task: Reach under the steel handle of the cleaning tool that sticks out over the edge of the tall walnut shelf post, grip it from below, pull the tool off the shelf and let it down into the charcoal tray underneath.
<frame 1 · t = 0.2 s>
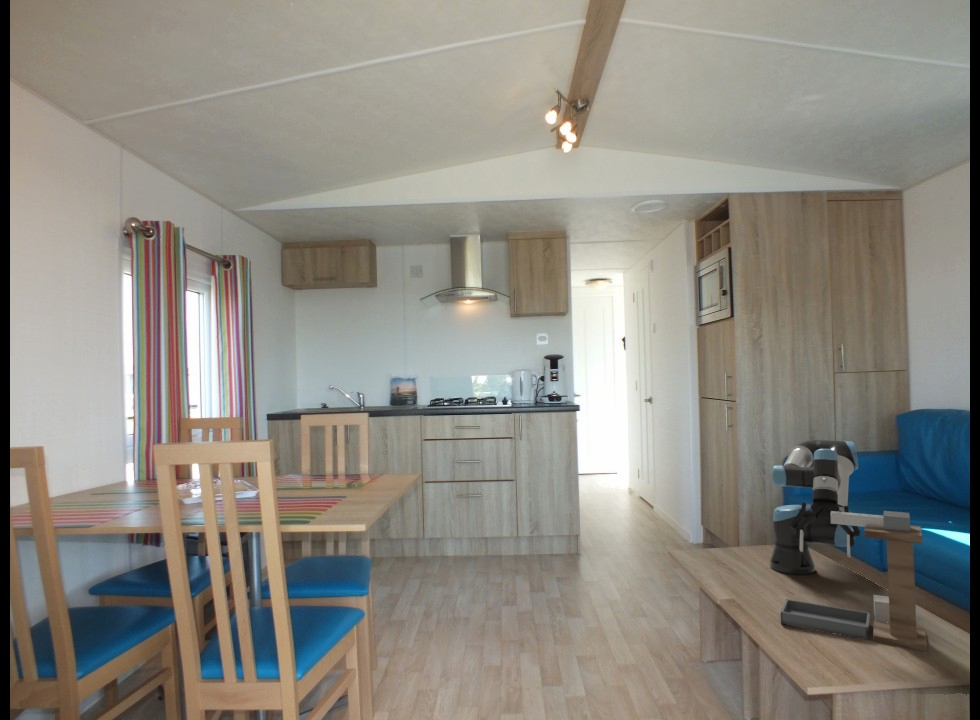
hand: (824, 553, 199), 15 cm above the table, tool tilted 35°, fingers open, 13 cm apart
tray: (825, 624, 179), on the table
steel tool: (857, 524, 175), point 30 cm above the table, touching shelf post
white cube: (886, 620, 182), on the table
shelf post: (897, 637, 170), on the table
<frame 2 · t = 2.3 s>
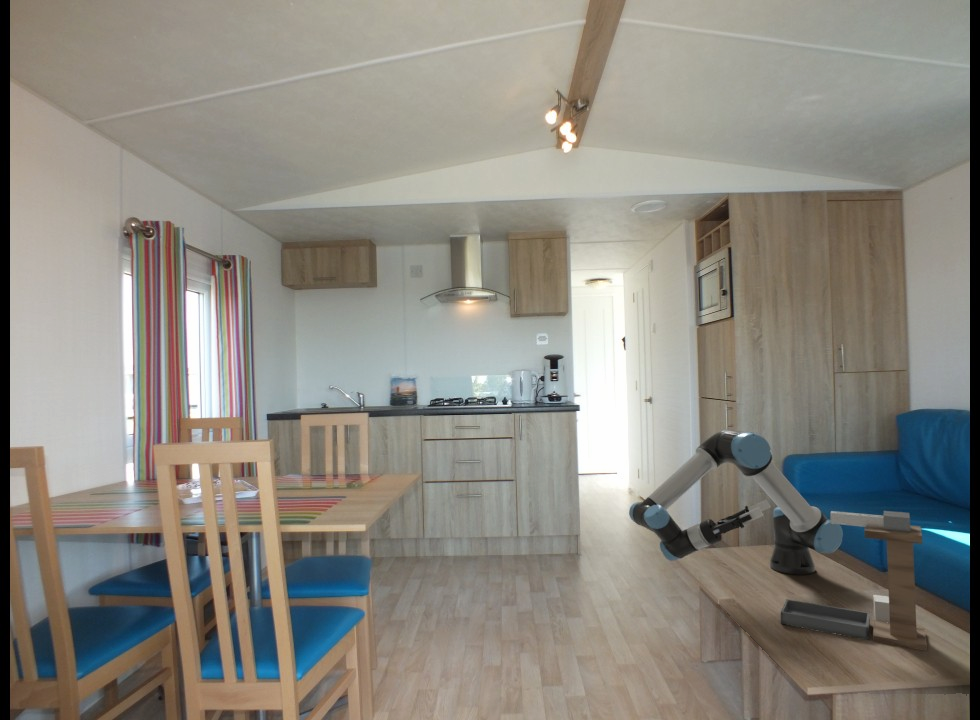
hand: (765, 507, 192), 32 cm above the table, tool pointing upward, fingers open, 13 cm apart
nothing on the table moved.
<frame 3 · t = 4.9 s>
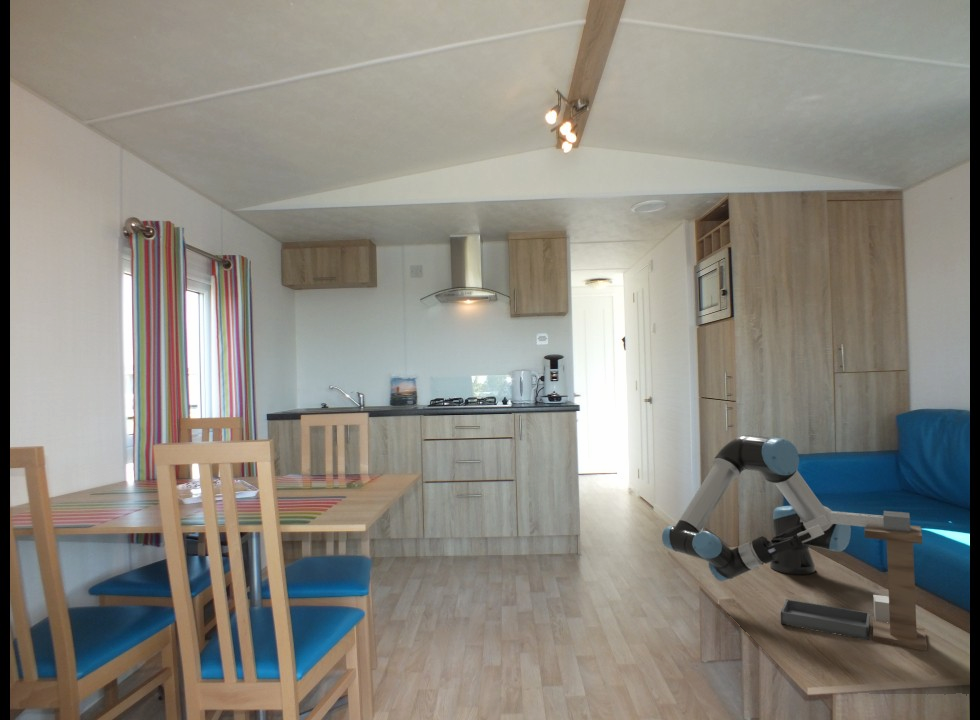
hand: (824, 524, 179), 29 cm above the table, tool pointing upward, fingers open, 13 cm apart
nothing on the table moved.
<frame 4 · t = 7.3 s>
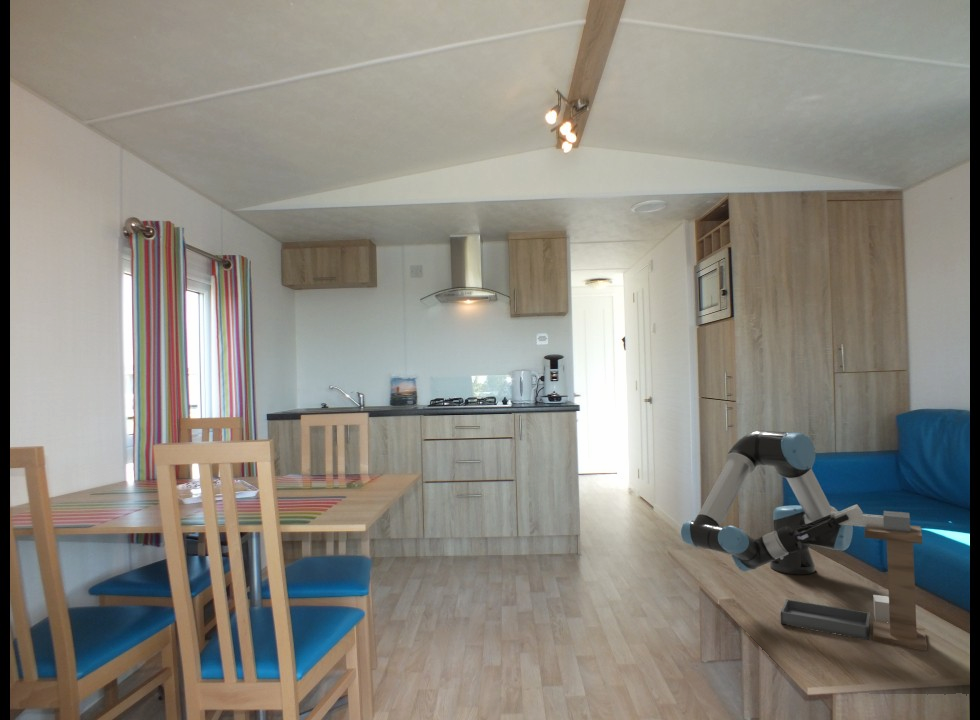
hand: (859, 509, 175), 34 cm above the table, tool pointing upward, fingers closed on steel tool, 3 cm apart
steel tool: (857, 524, 175), point 30 cm above the table, touching gripper, shelf post
everything else where it was.
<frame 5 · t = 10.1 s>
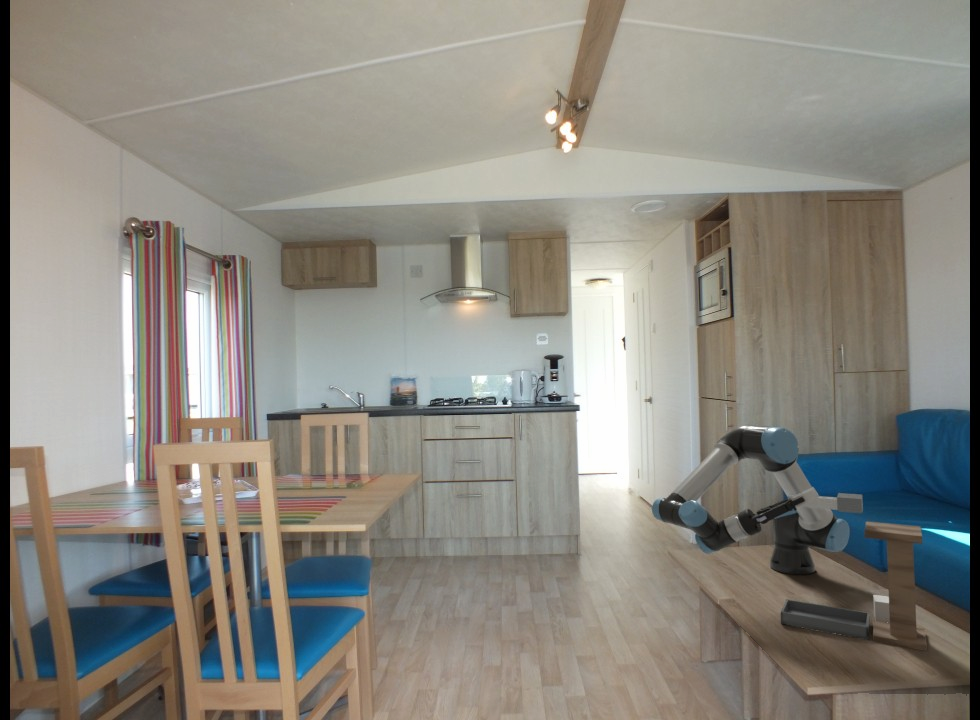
hand: (815, 492, 181), 38 cm above the table, tool pointing upward, fingers closed on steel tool, 3 cm apart
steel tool: (813, 506, 181), point 34 cm above the table, touching gripper
everything else where it was.
when the fingers open (25 cm above the table, at t = 12.8 s): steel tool drops 18 cm, resting on tray.
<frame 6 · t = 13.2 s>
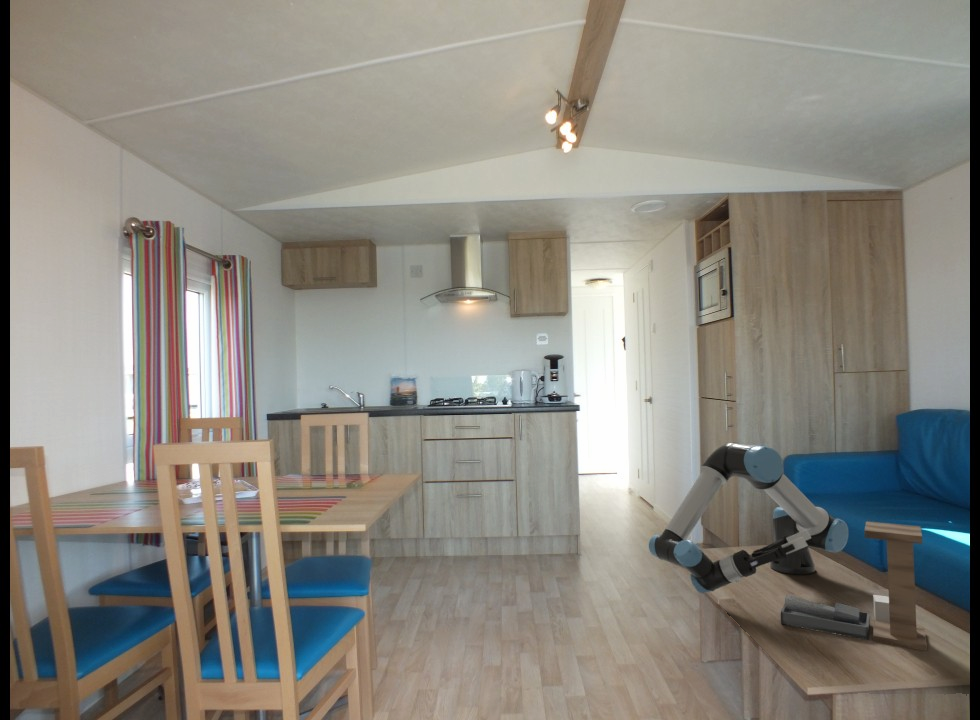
hand: (806, 537, 182), 25 cm above the table, tool pointing upward, fingers open, 9 cm apart
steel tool: (808, 612, 182), point 3 cm above the table, tilted 8°, touching tray
everything else where it was.
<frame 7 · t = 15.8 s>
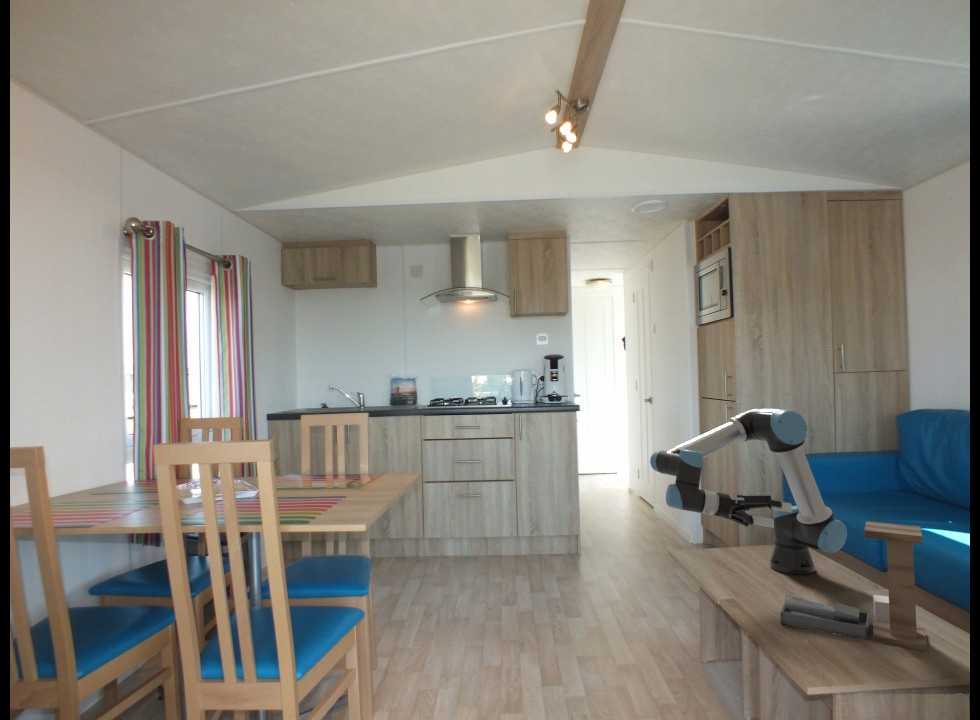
hand: (782, 516, 198), 28 cm above the table, tool horizontal, fingers open, 13 cm apart
nothing on the table moved.
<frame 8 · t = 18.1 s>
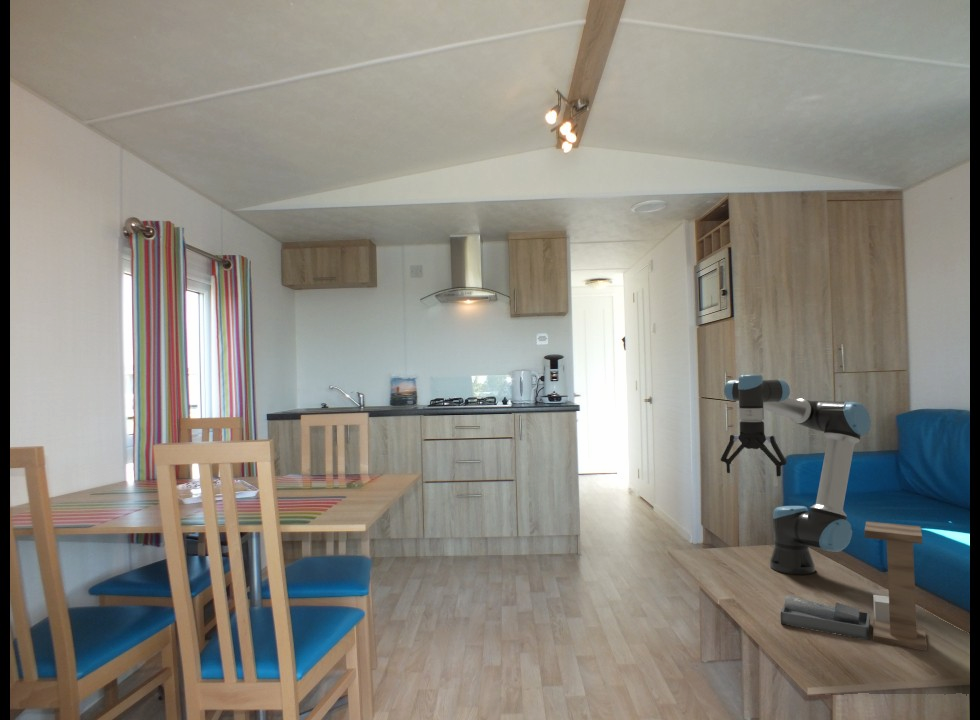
hand: (753, 484, 204), 37 cm above the table, tool pointing down, fingers open, 13 cm apart
nothing on the table moved.
at the end: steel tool inside the target area on the tray (4.2 cm from its centre), point 2.7 cm above the tray's base; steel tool touching tray; the gripper is holding nothing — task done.
